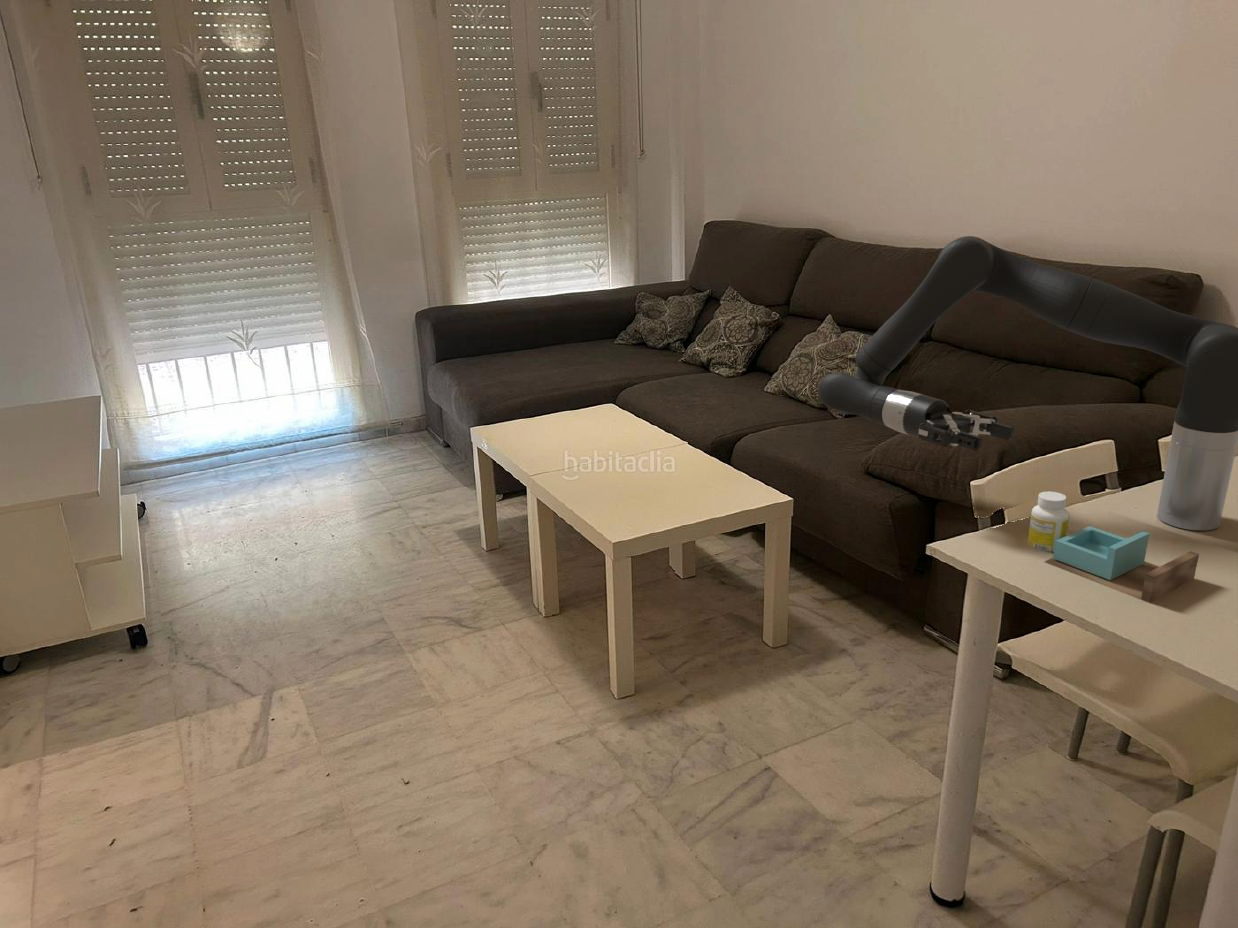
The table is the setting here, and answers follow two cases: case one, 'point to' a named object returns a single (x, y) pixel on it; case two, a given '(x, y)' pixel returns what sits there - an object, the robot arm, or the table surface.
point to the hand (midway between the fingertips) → (996, 439)
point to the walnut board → (1144, 577)
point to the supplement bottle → (1048, 521)
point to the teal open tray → (1102, 551)
